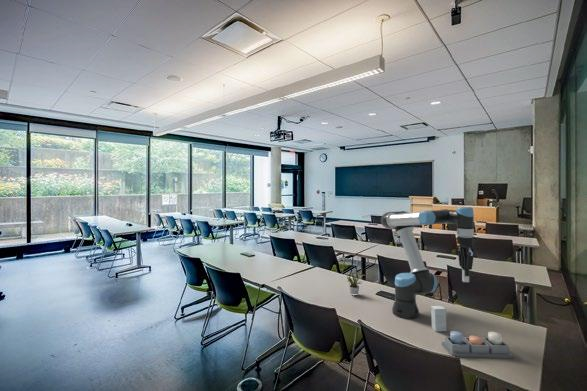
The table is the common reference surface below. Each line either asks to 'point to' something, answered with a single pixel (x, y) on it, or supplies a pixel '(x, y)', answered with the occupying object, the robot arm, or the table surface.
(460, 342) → the blue button
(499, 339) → the button cream
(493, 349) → the tray
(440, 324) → the skincare box
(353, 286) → the house plant
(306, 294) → the table surface
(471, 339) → the button terracotta
